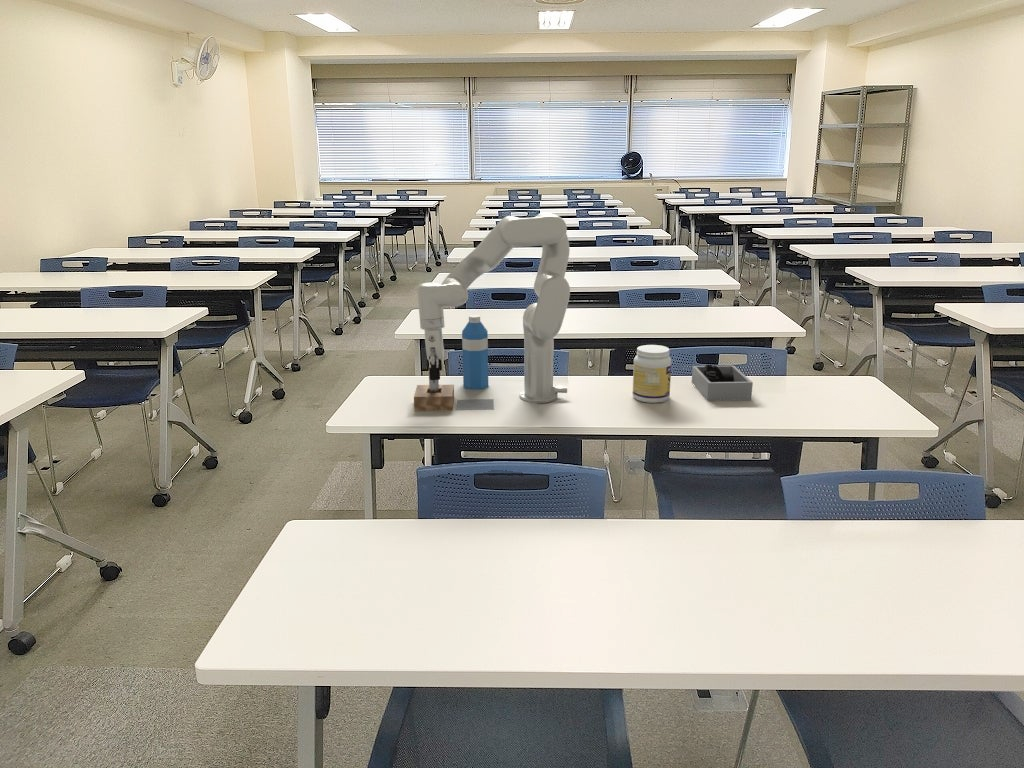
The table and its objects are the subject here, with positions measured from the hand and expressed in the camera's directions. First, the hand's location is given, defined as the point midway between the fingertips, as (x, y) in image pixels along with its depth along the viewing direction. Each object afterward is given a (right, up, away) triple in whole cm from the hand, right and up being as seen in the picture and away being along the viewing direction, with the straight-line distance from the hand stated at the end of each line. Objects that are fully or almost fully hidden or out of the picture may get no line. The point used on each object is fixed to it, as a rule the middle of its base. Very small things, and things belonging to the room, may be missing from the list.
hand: (436, 374), depth 236 cm
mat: (+12, -10, +2) cm, 16 cm away
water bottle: (+12, -4, +21) cm, 25 cm away
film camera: (+94, -6, +15) cm, 95 cm away
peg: (-1, -10, +3) cm, 10 cm away
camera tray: (+95, -5, +15) cm, 96 cm away
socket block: (-1, -10, +3) cm, 10 cm away
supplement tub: (+70, -8, +9) cm, 71 cm away
